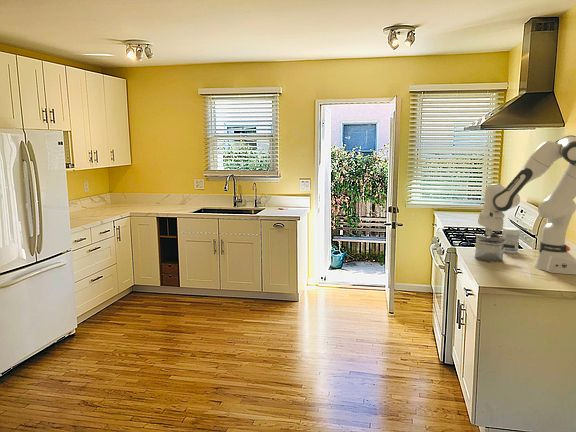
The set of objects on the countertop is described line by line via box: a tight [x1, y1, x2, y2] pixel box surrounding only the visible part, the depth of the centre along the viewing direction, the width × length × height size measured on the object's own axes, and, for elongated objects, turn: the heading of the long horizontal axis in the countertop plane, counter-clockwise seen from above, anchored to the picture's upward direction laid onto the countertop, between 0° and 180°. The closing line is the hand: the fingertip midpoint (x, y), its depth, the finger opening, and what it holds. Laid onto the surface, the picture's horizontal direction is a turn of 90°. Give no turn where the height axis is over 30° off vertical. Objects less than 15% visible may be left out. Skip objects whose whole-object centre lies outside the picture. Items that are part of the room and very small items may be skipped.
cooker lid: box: [475, 232, 506, 241], centre depth 269 cm, size 16×16×3 cm
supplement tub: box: [501, 226, 520, 254], centre depth 288 cm, size 10×10×15 cm
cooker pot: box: [474, 238, 515, 263], centre depth 269 cm, size 21×16×11 cm
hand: (488, 235), depth 266 cm, fingers closed
